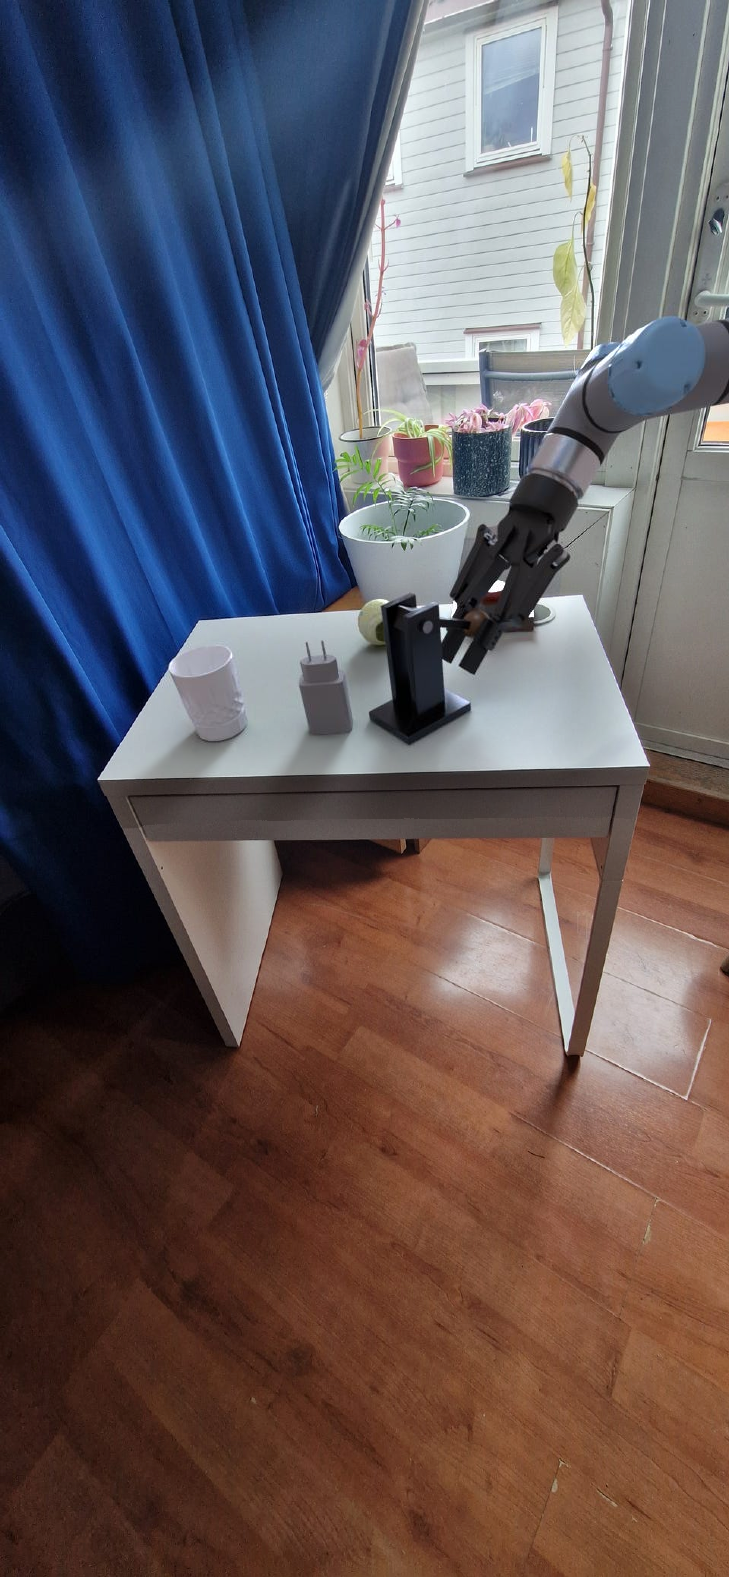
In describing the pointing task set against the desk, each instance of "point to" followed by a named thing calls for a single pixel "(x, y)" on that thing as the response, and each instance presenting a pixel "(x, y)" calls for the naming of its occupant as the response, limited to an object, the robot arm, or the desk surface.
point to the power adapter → (325, 695)
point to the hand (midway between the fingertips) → (454, 664)
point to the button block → (490, 607)
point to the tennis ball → (372, 622)
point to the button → (494, 592)
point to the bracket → (416, 674)
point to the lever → (448, 621)
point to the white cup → (210, 691)
